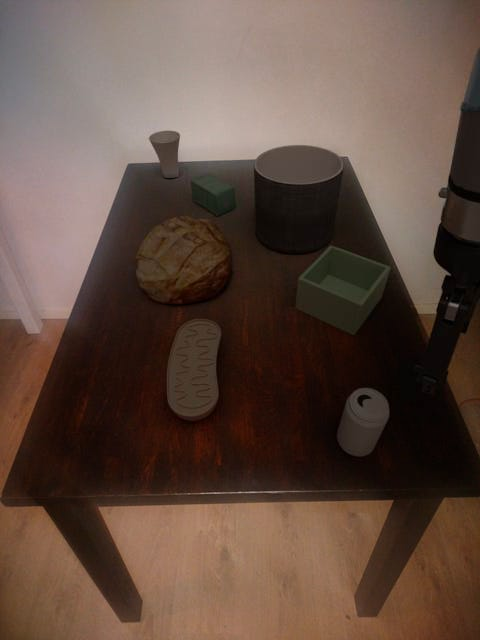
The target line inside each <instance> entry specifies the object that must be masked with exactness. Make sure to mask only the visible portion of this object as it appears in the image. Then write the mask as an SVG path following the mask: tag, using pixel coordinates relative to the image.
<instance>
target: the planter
mask: <svg viewBox="0 0 480 640" xmlns="http://www.w3.org/2000/svg"><path fill="white" fill-rule="evenodd" d="M344 163H345V162H344V160H343V159H342V158H341V156H340V155H339V154H337V153H335V152H334V151H332V150H330V149H327V148H323V147H320V146H315V145H307V144H293V145H292V144H291V145H290V144H289V145H283V146H277V147H274V148H271V149H268V150H265V151H263V152H262V153H261V154H259V155H258V156H257V157H256V158H255V159H254V164H253V182H254V183H253V185H254V186H253V187H254V216H255V217H254V219H255V236H256V238H257V240H258V241H259V242H260V244H262V245H263V246H264V247H265V248H267V249H270V251H271V250H272V251H273V252H278V253H281V254H287V255H305V254H309V253H313V252H316V251H318V250H321V249H323V248H324V247H326V246H327V245H328V244H329V243H330V242H331V240H332V239H333V235H334V229H335V222H336V217H337V210H338V205H339V198H340V192H341V187H342V181H343V173H344V168H345V164H344Z"/></svg>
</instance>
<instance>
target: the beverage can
mask: <svg viewBox="0 0 480 640" xmlns="http://www.w3.org/2000/svg"><path fill="white" fill-rule="evenodd" d="M389 417H390V406H389V402H388V400H387V398H386V397H385V396H384V394H382V393H381V392H379V391H378V390H376V389H374V388H371V387H361V388H357V389H356V390H354V391H353V392H352V393H351V394H350V395H348V396H347V399H346V401H345V405H344V408H343V412H342V414H341V418H340V421H339V425H338V428H337V432H336V439H337V440H336V441H337V443H338V445H339V447H340V448H341V449H342V450H343V451H344V452H345V453H346V454H348V455H351V456H353V457H366V456H368V455H370V454H371V453H372V452H373V451H374V450H375V447H376V445H377V443H378V441H379V439H380V437H381V435H382V433H383V431H384V428H385V426H386V425H387V422H388V420H389Z"/></svg>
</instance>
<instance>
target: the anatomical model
mask: <svg viewBox="0 0 480 640" xmlns="http://www.w3.org/2000/svg"><path fill="white" fill-rule="evenodd" d="M221 339H222V330H221V328H220V326H219V324H217V323H216V322H215V321H213V320H210V319H207V318H195V319H191V320H189V321H187V322H185V323H183V324H182V325H181V326H180V327H179V329H178V330H177V332H176V334H175V337H174V340H173V343H172V346H171V349H170V353H169V356H168V361H167V369H166V397H167V398H166V399H167V403H168V406H169V407H170V409H171V411H172V412H173V413H174V415H176V416H177V417H179V418H180V419H182V420H184V421H188V422H197V421H201V420H203V419H205V418H207V417H208V416H210V415H211V414H212V413H213V412H214V410H215V409H216V408H217V404H218V402H219V397H220V392H219V383H218V378H217V377H218V376H217V359H218V353H219V349H220V344H221V341H222V340H221Z"/></svg>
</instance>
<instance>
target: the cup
mask: <svg viewBox="0 0 480 640" xmlns="http://www.w3.org/2000/svg"><path fill="white" fill-rule="evenodd" d="M180 139H181V134H180V132H178V131H175V130H161V131H160V130H159V131H157V132H154V133H152V134H151V135H150V136H149V137H148V140H149V142H150V144H151V146H152V148H153V150H154V151H155V154H156V155H157V158H158V161H159V164H160V168H161V173H162V172H163V173H165V174H173V173H176V172H178V171H179V170H180V167H179V147H180Z"/></svg>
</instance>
